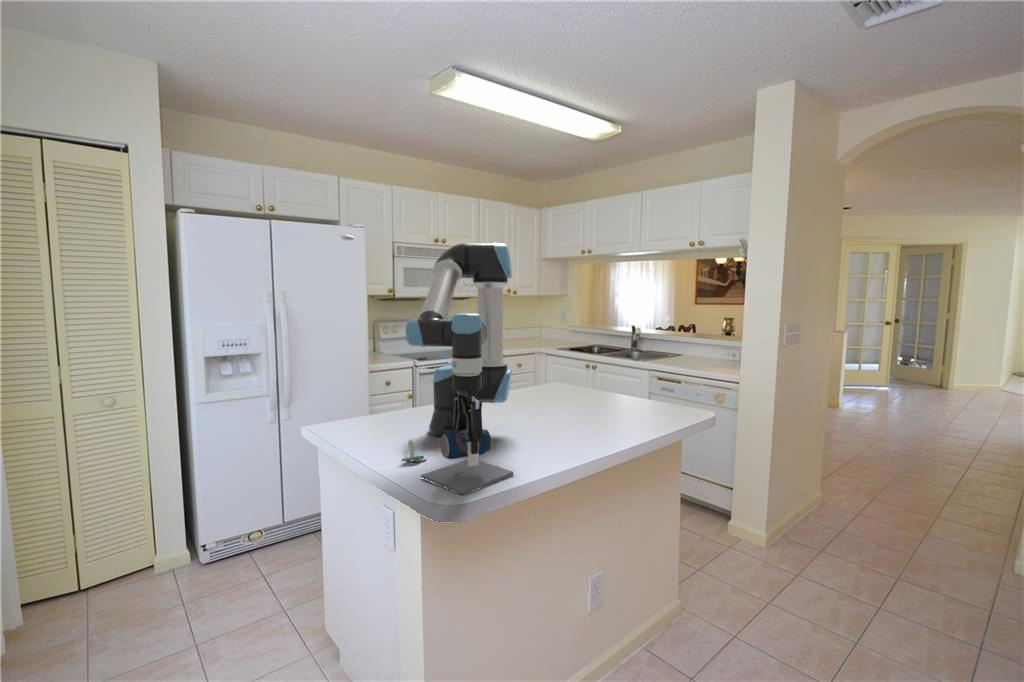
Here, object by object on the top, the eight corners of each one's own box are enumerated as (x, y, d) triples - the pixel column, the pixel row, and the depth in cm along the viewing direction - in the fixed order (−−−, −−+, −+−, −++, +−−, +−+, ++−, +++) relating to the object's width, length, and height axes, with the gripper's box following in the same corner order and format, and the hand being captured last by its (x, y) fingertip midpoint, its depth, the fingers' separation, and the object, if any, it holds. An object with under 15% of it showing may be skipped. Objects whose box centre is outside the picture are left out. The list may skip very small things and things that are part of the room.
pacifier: (421, 455, 147) (401, 457, 144) (421, 434, 147) (402, 436, 144) (430, 462, 141) (409, 465, 138) (430, 440, 140) (410, 443, 137)
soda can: (446, 431, 123) (490, 426, 128) (438, 433, 129) (480, 428, 134) (449, 460, 121) (493, 453, 127) (441, 460, 127) (483, 453, 133)
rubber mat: (421, 478, 128) (421, 474, 127) (472, 461, 141) (472, 457, 141) (462, 495, 117) (462, 491, 117) (513, 475, 130) (513, 471, 130)
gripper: (440, 369, 133) (441, 452, 135) (468, 380, 116) (468, 475, 118) (466, 367, 137) (466, 448, 139) (496, 378, 119) (496, 470, 121)
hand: (467, 460), depth 128 cm, fingers closed on soda can, 7 cm apart
